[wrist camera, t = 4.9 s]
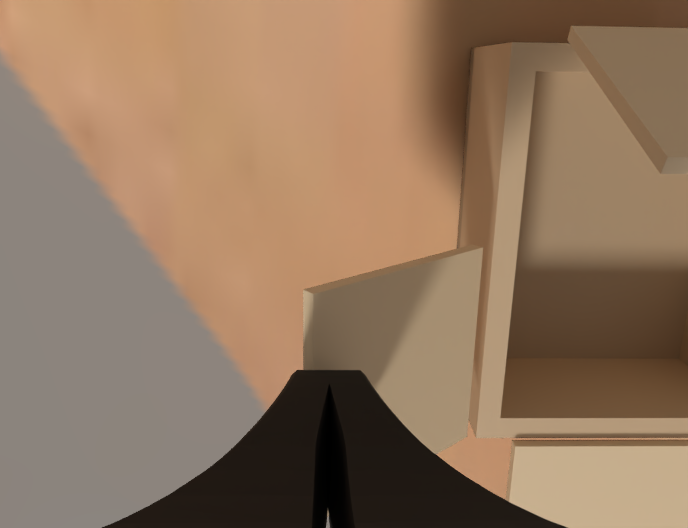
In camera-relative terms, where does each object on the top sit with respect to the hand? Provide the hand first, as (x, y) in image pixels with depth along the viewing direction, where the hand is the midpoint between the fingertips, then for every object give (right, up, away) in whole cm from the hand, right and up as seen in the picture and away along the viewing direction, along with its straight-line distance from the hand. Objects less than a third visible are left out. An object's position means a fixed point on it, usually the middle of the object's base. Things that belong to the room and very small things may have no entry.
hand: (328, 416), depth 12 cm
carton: (+10, +2, +8) cm, 13 cm away
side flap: (+2, 0, +2) cm, 2 cm away
